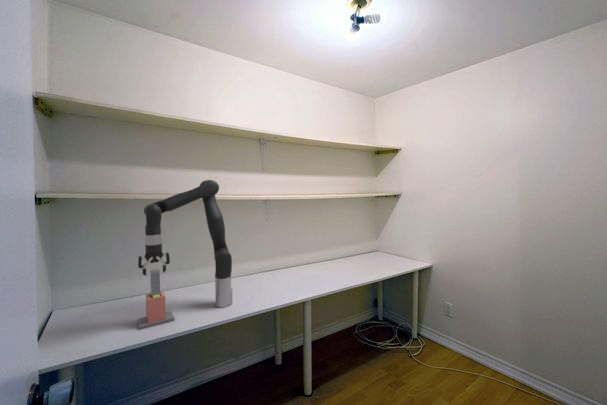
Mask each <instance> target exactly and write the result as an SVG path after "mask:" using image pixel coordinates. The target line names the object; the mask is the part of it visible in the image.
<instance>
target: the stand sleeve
mask: <svg viewBox="0 0 607 405" xmlns="http://www.w3.org/2000/svg"><path fill="white" fill-rule="evenodd" d="M145 308H146V309H145V310H146V315H145V316H143V317H138V318H137V324H138V330H140V331H141V330H144V329H149V328H153V327H155V326H159V325H162V324H167V323H171V322H174V321H175V316H174V314H173V311H172V310H168V311H166V310H167V309H166V295H165V292H164V291H163V290H160V295H154V296H153V298H151V294H150V293H146V294H145Z"/></svg>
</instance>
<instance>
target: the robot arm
mask: <svg viewBox="0 0 607 405" xmlns="http://www.w3.org/2000/svg"><path fill="white" fill-rule="evenodd" d="M219 190H220V185H219V183H218V182H217V181H215V180H212V179H207V180H203V181H201V183H200V184H199V186H196V187H195V188H192V189H189V190H187V191H183V192H180V193H177V194H174V195H171V196H169V197H166V198H164V199H162V200H159V201H156V202H152V203H149V204H147V205H146V206H145V207H144V209H143V214H144V215H145V222H146V224H145V227H144V228H145V230H144V231H145V232H144V234H145V236H144V238H145V239H144V245H145V246H144V248H145V254H144V255H141V254H140V255H138V259H137V260H138V261H137V262H138V263H137V265H138V266H137V267H138V268H139V269H141V270H142V275H143V276H147V267H148V265H149V264H153V263H159V262H160V263H161V264H162V272H163V274H164V273H166V271H167V265H168V264H169V265H170V263H171V262H170V253H169V252H168V251H166V252H163V240H162V239H163V237H162V226H161V222H162V214H164V213H166V212H172V211H174V210H177V209H179V208H181V207H183V206H187V205H188V204H191V203H192V202H194V201H197V200H201V199H202V202H203V205H204V206H203V207H204V211H205V212H204V213H205V218H206V224H207V229H208V232H209V236H210V238H211V241H212V245H213V254H214V255H213V256H214V261H215V263H214V264H215V270H214V271H215V272H214V282H215V283H214V285H215V286H214V287H215V288H214V292H215V293H214V294H215V295H214V296H215V297H214V298H215V300H214V301H215V307H217V308H227V307H230V306H231V305H233V301H234V299H233V288H232V271H233V270H232V269H233V262H232V261H233V259H232V257H233V256H232V254H231V253H230V251H229V248H228V246H227V241H226V229H225V228H226V226H225V221H224V216H223V215H222V211H221V210H220V209H221V208H220V207H219V205H218V203H217V198H216V194H218V193H219ZM163 257H165V258H166V260H165V261H164V260H163ZM144 259H145V262H144V263H143V264H142V261H143V260H144Z"/></svg>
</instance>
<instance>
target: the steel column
mask: <svg viewBox="0 0 607 405" xmlns="http://www.w3.org/2000/svg"><path fill="white" fill-rule="evenodd" d="M160 273H161V272H160V270H159V269H158V268H157V269H152V270H149V282H150V283H149V284H150V285H149V286H150V292H149V294H151V298H153V296H154V295H160V291H161V276H160Z"/></svg>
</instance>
